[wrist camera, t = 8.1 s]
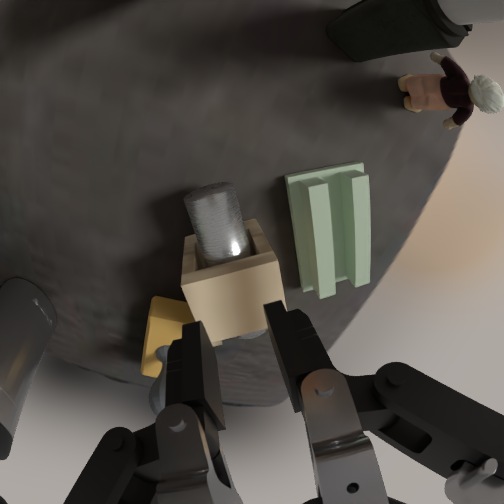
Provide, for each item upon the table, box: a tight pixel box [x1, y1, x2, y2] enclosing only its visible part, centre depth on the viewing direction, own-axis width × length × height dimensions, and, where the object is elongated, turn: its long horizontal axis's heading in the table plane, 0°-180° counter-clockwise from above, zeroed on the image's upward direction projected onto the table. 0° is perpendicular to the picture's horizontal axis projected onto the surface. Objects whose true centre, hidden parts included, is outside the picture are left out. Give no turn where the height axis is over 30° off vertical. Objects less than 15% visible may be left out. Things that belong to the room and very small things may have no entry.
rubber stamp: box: [141, 296, 196, 416], centre depth 27 cm, size 10×6×12 cm, turn 160°
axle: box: [184, 182, 267, 339], centre depth 25 cm, size 14×4×4 cm, turn 13°
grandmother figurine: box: [398, 52, 504, 130], centre depth 18 cm, size 8×4×13 cm, turn 30°
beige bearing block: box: [181, 218, 287, 346], centre depth 26 cm, size 7×12×8 cm, turn 11°
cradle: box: [284, 161, 371, 299], centre depth 27 cm, size 8×13×4 cm, turn 11°
